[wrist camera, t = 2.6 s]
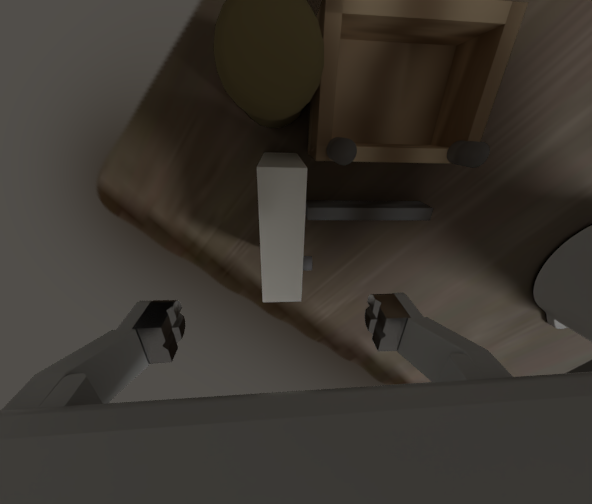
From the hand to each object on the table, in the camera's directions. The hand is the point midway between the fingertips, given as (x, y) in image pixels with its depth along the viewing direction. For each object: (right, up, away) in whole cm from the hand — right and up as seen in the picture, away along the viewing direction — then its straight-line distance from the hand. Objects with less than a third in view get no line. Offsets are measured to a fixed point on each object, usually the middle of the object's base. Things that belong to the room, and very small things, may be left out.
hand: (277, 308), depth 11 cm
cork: (-1, +16, +9) cm, 19 cm away
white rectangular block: (-1, +7, +14) cm, 16 cm away
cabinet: (+8, +13, +11) cm, 19 cm away
